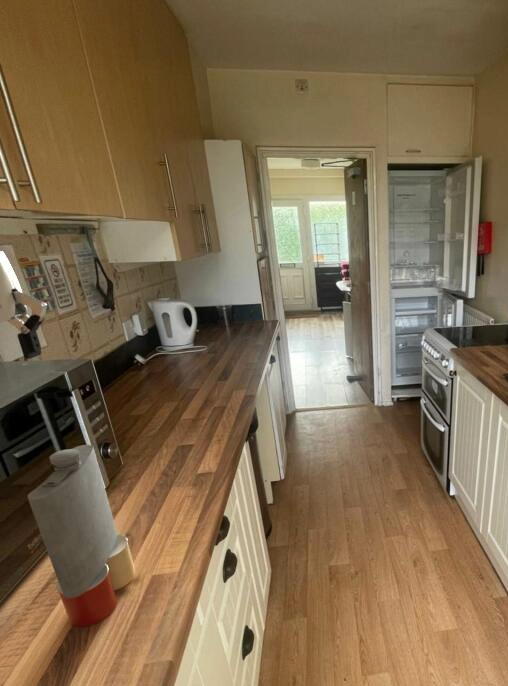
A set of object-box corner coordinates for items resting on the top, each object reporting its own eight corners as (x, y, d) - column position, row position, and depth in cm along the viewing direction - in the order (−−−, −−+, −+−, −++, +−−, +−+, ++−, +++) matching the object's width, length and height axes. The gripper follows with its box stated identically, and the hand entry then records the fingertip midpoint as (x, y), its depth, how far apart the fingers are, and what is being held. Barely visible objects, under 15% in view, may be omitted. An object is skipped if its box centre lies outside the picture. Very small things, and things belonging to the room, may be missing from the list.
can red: (59, 629, 66) (46, 595, 64) (83, 595, 73) (72, 563, 70) (105, 626, 67) (94, 592, 64) (125, 592, 73) (116, 560, 70)
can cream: (83, 594, 73) (72, 562, 70) (103, 565, 79) (94, 535, 76) (125, 591, 73) (116, 560, 71) (142, 563, 80) (134, 533, 77)
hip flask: (100, 531, 77) (70, 431, 69) (125, 528, 78) (98, 429, 70) (59, 600, 63) (16, 484, 55) (90, 595, 64) (52, 481, 56)
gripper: (-132, 239, 57) (-80, 363, 64) (7, 242, 59) (44, 363, 65) (-82, 238, 64) (-40, 350, 71) (42, 241, 65) (72, 350, 72)
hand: (1, 356), depth 68 cm, fingers open, 9 cm apart
